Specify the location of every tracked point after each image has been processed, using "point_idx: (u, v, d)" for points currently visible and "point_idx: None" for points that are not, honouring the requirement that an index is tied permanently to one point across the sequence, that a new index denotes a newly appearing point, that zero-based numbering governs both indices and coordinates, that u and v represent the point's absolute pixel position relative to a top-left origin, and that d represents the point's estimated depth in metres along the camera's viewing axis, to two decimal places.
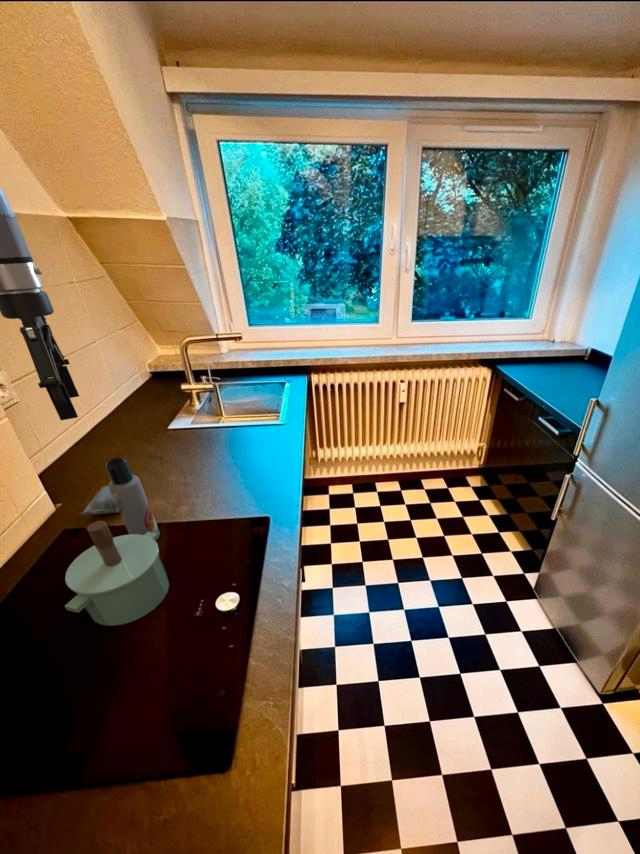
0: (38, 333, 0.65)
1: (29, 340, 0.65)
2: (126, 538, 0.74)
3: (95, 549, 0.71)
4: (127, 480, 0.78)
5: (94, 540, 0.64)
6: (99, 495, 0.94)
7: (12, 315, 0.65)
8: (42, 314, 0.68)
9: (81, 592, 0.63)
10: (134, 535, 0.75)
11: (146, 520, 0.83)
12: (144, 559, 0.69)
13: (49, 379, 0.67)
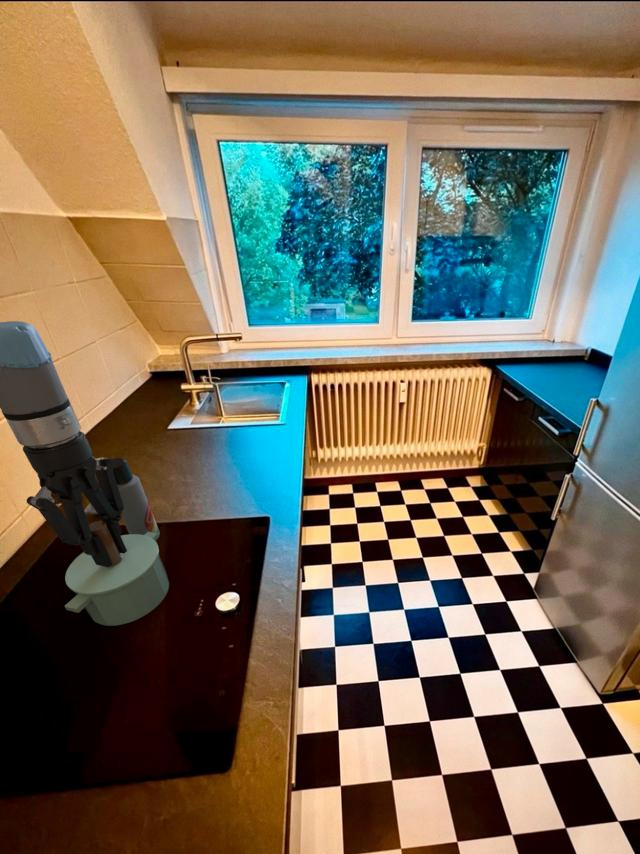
0: (43, 508, 0.55)
1: (40, 509, 0.56)
2: (126, 538, 0.74)
3: None
4: (127, 480, 0.78)
5: None
6: None
7: (32, 467, 0.55)
8: (57, 470, 0.55)
9: (81, 592, 0.63)
10: (134, 535, 0.75)
11: (146, 520, 0.83)
12: (144, 559, 0.69)
13: None
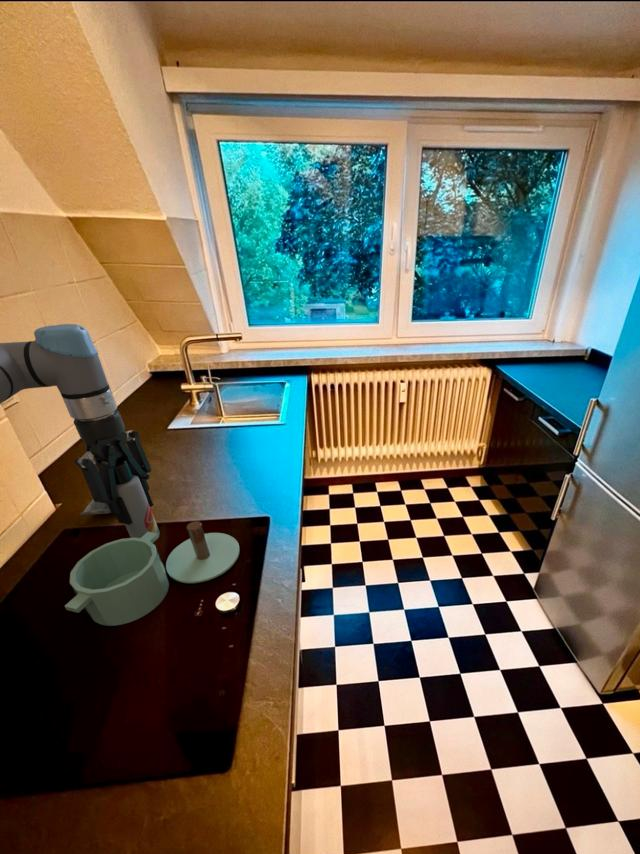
0: (87, 466, 0.70)
1: (83, 469, 0.71)
2: (209, 536, 0.86)
3: (185, 545, 0.83)
4: (127, 480, 0.78)
5: (192, 537, 0.76)
6: None
7: (80, 436, 0.71)
8: (99, 439, 0.71)
9: (183, 581, 0.75)
10: (215, 533, 0.87)
11: (146, 520, 0.83)
12: (229, 554, 0.81)
13: (99, 498, 0.74)
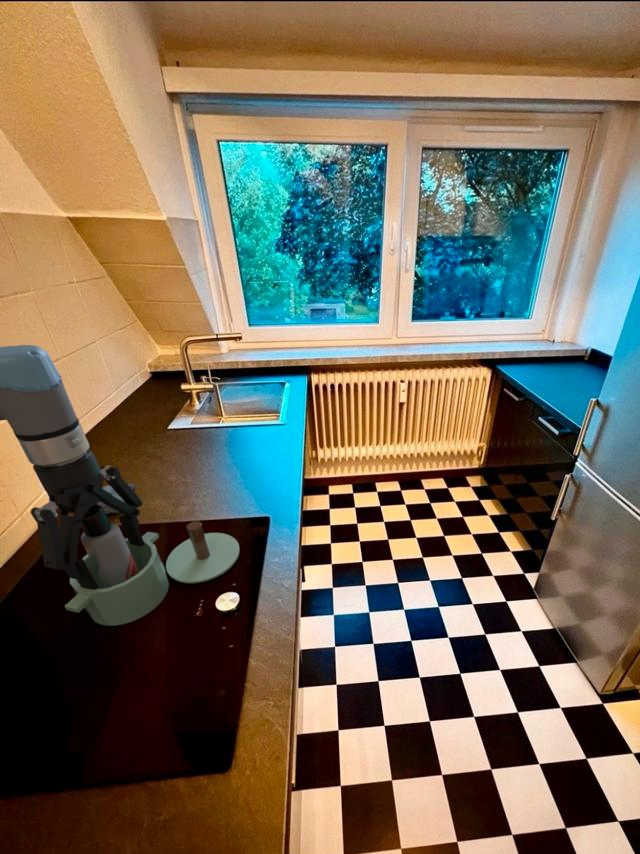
0: (45, 519, 0.55)
1: (39, 523, 0.56)
2: (209, 536, 0.86)
3: (185, 545, 0.83)
4: (103, 532, 0.64)
5: (192, 537, 0.76)
6: None
7: (42, 484, 0.57)
8: (66, 488, 0.56)
9: (183, 581, 0.75)
10: (215, 533, 0.87)
11: (128, 576, 0.69)
12: (229, 554, 0.81)
13: (52, 564, 0.58)
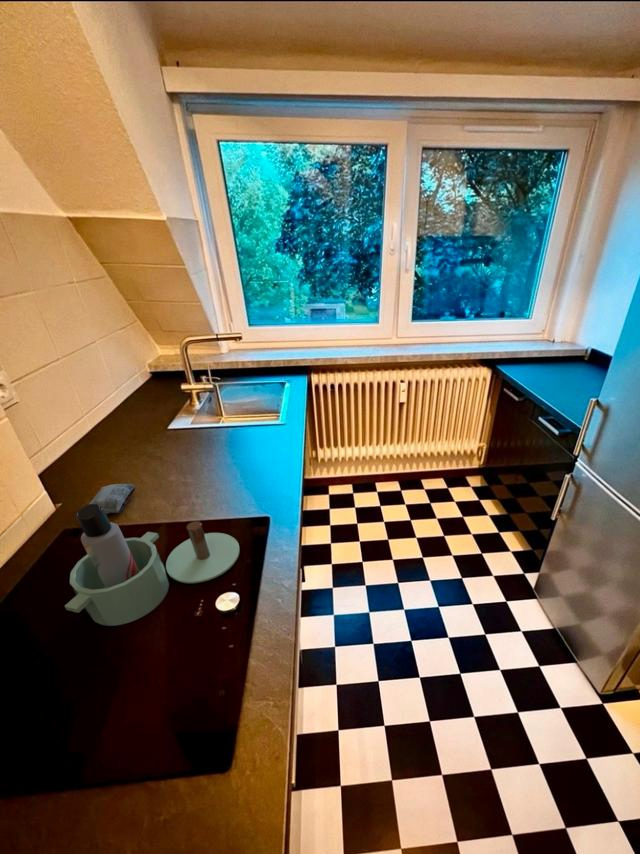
0: None
1: None
2: (209, 536, 0.86)
3: (185, 545, 0.83)
4: (103, 532, 0.64)
5: (192, 537, 0.76)
6: (99, 495, 0.94)
7: None
8: None
9: (183, 581, 0.75)
10: (215, 533, 0.87)
11: (128, 576, 0.69)
12: (229, 554, 0.81)
13: None
